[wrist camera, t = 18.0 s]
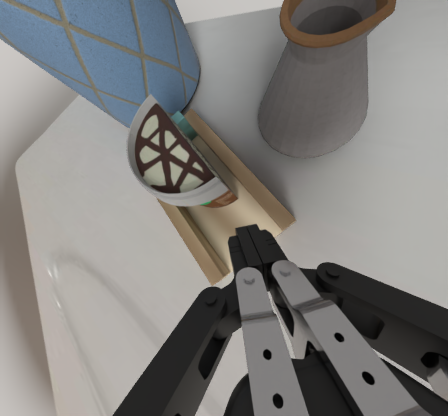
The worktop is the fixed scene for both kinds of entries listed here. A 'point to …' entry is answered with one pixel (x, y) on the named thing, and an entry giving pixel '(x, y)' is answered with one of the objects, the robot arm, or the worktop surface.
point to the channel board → (228, 215)
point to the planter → (108, 50)
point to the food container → (172, 161)
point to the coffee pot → (320, 75)
